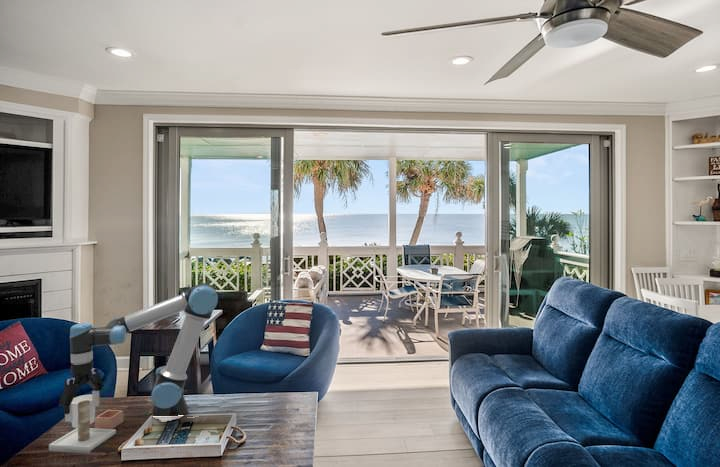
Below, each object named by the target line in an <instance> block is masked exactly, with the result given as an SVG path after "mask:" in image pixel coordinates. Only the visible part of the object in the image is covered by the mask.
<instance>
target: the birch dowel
mask: <svg viewBox="0 0 720 467" xmlns="http://www.w3.org/2000/svg"><path fill="white" fill-rule="evenodd" d="M90 426H91V425H90V401H89V400H85V401H81V402H79V403H78V441H85V440H88V439H89V438H90V428H91V427H90Z"/></svg>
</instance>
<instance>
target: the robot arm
mask: <svg viewBox="0 0 720 467" xmlns="http://www.w3.org/2000/svg"><path fill="white" fill-rule="evenodd" d="M218 301H219V297H218V293H217V290H216V288H215V287H214V286H213V285H212V284H209V283H206V282H205V283H203V282H202V283H198V284H196V285H194V286H193V287H191V288H188V289H186V290H183V291H182V292H181V293H180V294H179V295H176V296H173V297H171V298H169V299H166V300H163V301H161V302H158V303H156V304H153V305H150V306H148V307H146V308H143V309H140V310H138V311H135V312H132V313H129V314H127V315H125V316H122V317H119V318H115V319H112V320H110V321H109V322H108V323H107V325H106V326H103V327H102V326H101V327H93V324H92V323H91V322H83V323H82V322H81V323H77V324H73V325H72V326H71V327H70V330H69V345H70V346H69V347H70V363H71V364H70V373H71V374H72V377H71V378H66V379H65V383H64V388H63V390H62V393H61V396H60V399H59V402H58V406H59V407H63V414H64V420H65V421H64V422H69V423H72V421H73V405H72V404H71V402H72V400H73V398H75V397H76V394H77V393H78V391H79V389H80V388H81V387H82V386H84V385H87V384H88V385H89V387H91V389H93V390H92V391H91V395H92V406H95V407H101V406H100V397H101V391H102V390H103V387H104V386H105V384H104V382H103V379H102V378H101V376H100V374H99V369H98V368H97V367H95V368H94V361H93V359H94V355H93V354H94V352H93V347H103V346H111V345H119V344H123V343H125V342H126V340H127V339H126V338H127V334H129V333H131V332H133V331H136V330H138V329H141V328H143V327H146V326H148V325H151V324H153V323H156V322H158V321H161V320H164V319H167V318H169V317H171V316H174V315H176V314H179V313H181V312H184V314H185V318H184V320H183V322H182V326H180V327H181V328H180V330H179V333H178V335H177V338H176V340H175V343H174V346H173V348H172V351H171V353H170V356H169V359H168V361H167V363H166V365H163V366H159V367H158V368H156V370H155V383H154V386H153V389H152V390H151V393H150V394H151V396H150V397H151V401H152V403H153V405H154V408H153V410H152V415H151V416H178V415H185V416H187V414H188V413H189V412H188V411H189V408H188V407H189V406H188V405H187V401H186V399H185V396H184V393H185V392H184V388H185V384H186V382H187V379H188V375H187V373H186V372H187V369H188V367H189V364H190V362H191V359H192V357H193V354H194V352H195V349H196V346H197V343H198V341H199V339H200V336H201V334H202V330H203V328H204V325H205V323H206V322H207V321H208V320H210V319H211V317H212V314H213V312H214V309H215V308H216V307H217V305H218Z"/></svg>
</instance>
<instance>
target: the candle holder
mask: <svg viewBox="0 0 720 467" xmlns="http://www.w3.org/2000/svg"><path fill="white" fill-rule="evenodd" d="M85 400H89V401H90V426H91V425H92V424H95V417H96V406H92V393H91V394H83V395H79V396H74V398H73V400H72V402H71V404H72V405H73V421H72V422H71V427H72V428H74V429H76V428H78V403H79V402H81V401H85Z"/></svg>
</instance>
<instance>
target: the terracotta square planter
mask: <svg viewBox="0 0 720 467" xmlns="http://www.w3.org/2000/svg"><path fill="white" fill-rule="evenodd" d="M124 418H125V417H124V410H118V409H107V410H105V411H103V412H102V413H100V414H99V415H97V416H95V421H94V428H98V429H115V428H116V427H118V426H119V425H121V424H122V423H124Z"/></svg>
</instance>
